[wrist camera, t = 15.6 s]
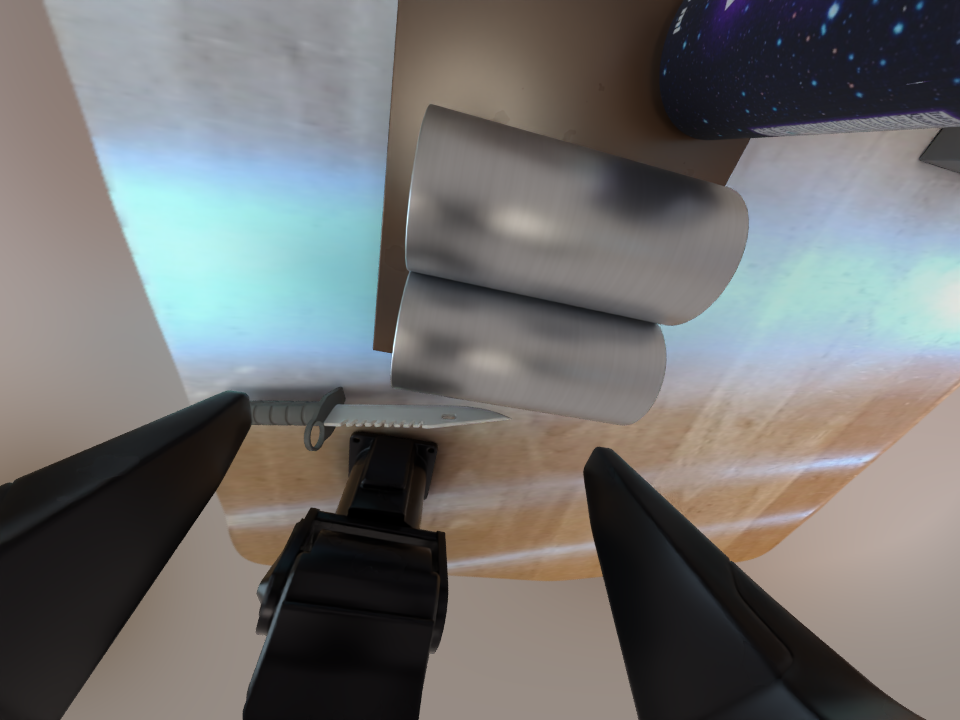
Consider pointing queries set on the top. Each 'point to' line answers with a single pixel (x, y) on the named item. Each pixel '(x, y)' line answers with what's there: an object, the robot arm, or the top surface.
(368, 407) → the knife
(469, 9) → the walnut board
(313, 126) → the top surface
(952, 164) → the grey blocks
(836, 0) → the beverage can
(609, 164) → the lying cans
